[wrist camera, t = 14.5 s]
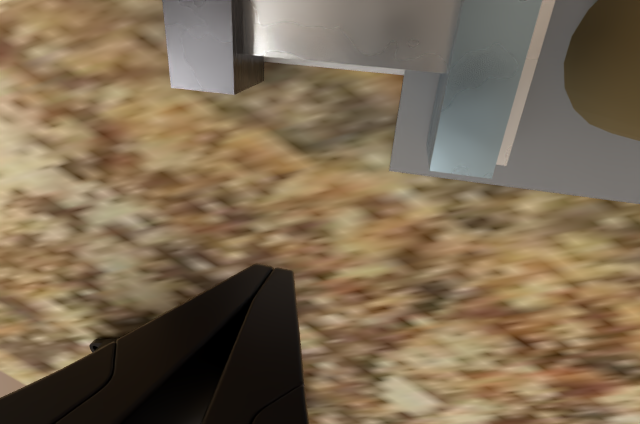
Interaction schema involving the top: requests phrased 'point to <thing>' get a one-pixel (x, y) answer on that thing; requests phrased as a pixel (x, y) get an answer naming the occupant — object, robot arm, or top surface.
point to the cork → (607, 67)
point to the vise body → (525, 127)
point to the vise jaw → (379, 57)
